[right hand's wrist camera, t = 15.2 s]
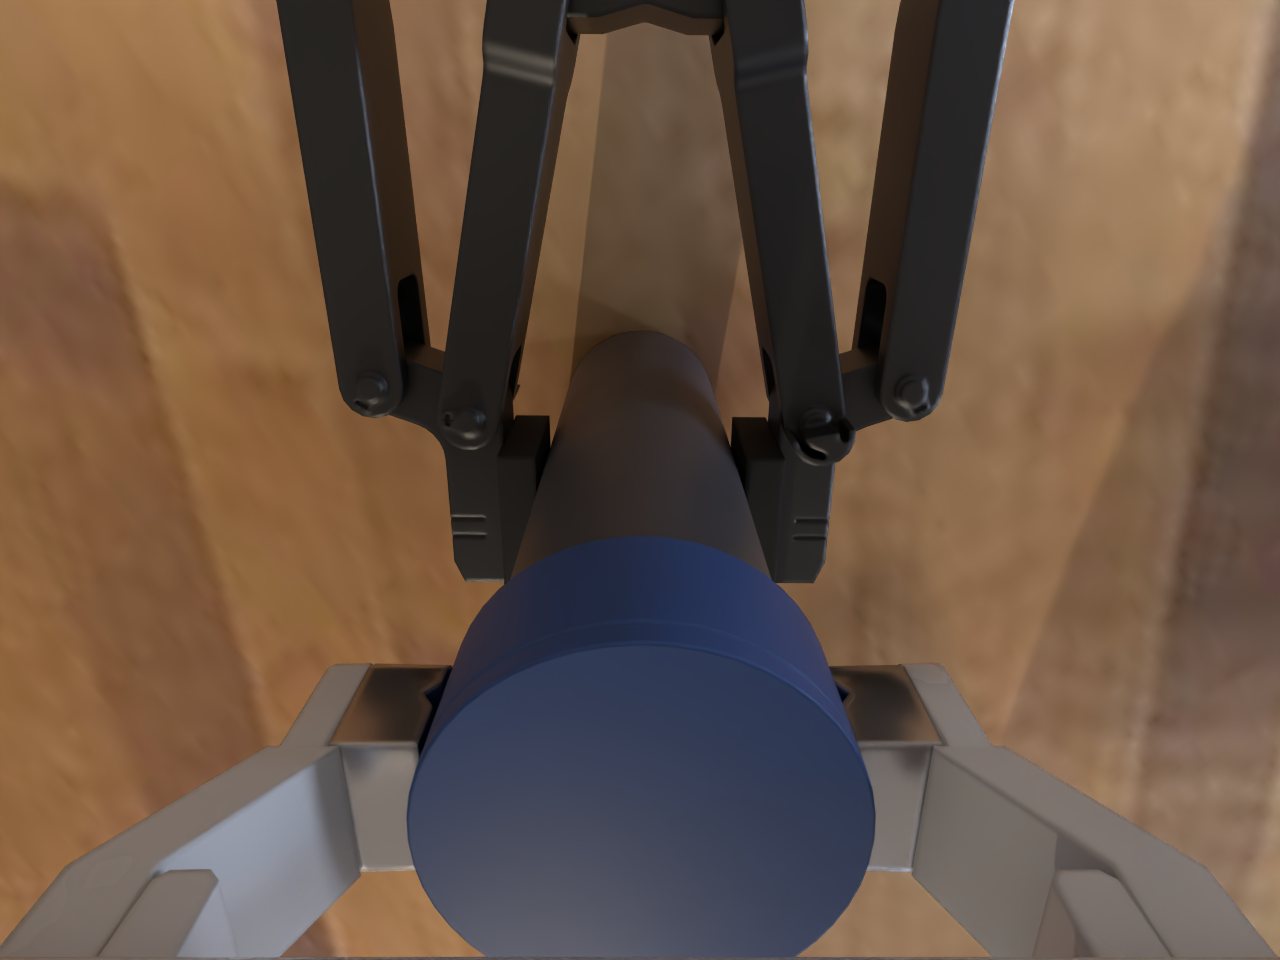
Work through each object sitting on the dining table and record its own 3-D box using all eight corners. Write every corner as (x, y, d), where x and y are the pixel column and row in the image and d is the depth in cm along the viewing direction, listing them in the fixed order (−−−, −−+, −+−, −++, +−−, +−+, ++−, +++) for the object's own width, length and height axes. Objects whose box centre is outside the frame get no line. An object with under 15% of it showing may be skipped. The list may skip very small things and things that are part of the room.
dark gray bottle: (701, 477, 24) (792, 960, 10) (561, 461, 24) (442, 929, 9) (723, 340, 23) (873, 670, 8) (575, 321, 22) (456, 626, 8)
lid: (787, 857, 12) (822, 1020, 9) (446, 825, 11) (401, 984, 9) (865, 557, 10) (930, 670, 8) (462, 510, 10) (410, 615, 7)
